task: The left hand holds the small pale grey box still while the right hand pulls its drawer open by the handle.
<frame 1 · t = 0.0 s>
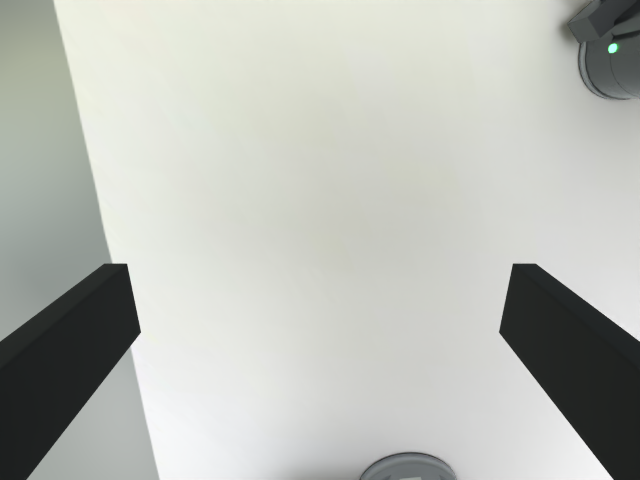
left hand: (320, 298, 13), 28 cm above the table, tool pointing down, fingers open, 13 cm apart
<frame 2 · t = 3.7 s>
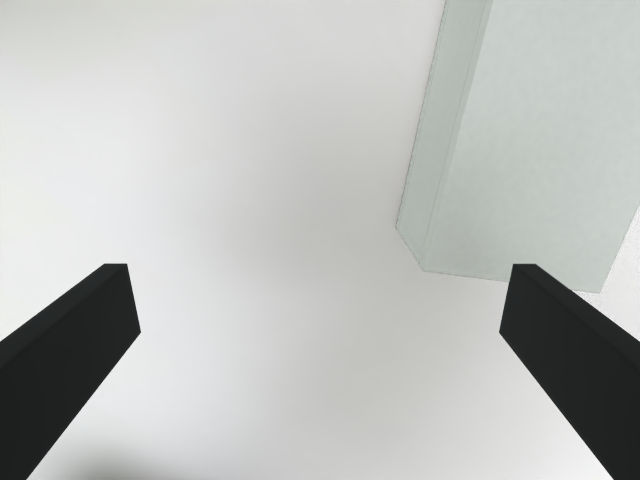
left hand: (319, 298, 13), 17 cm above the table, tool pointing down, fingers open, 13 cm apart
pale grey box: (500, 105, 26), on the table
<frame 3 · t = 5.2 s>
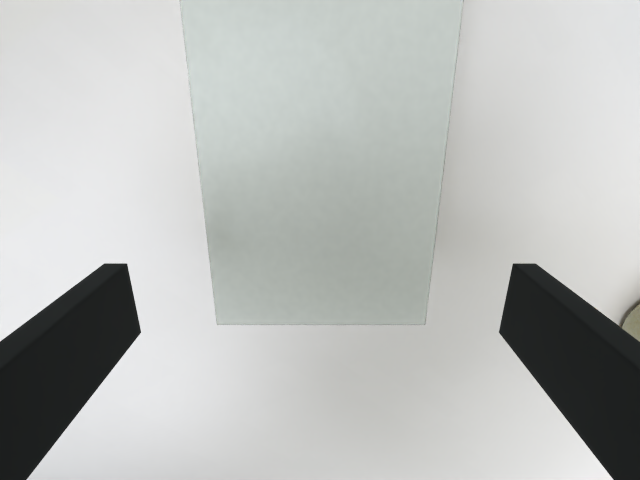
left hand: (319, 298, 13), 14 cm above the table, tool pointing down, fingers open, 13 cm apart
pale grey box: (320, 117, 24), on the table
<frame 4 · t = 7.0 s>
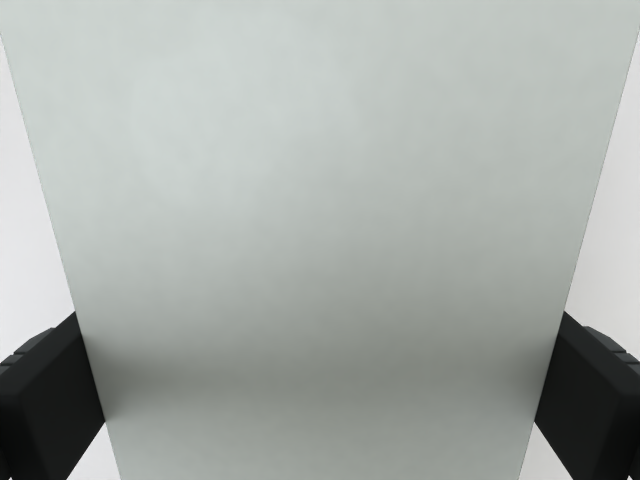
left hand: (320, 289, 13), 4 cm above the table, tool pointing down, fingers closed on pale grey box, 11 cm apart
pale grey box: (319, 125, 15), on the table, touching left hand
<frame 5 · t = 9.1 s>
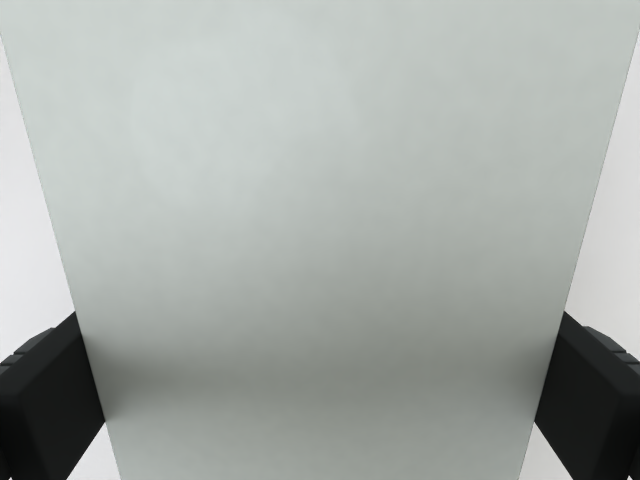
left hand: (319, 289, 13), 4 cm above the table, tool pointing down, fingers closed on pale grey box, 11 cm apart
pale grey box: (319, 125, 15), on the table, touching left hand
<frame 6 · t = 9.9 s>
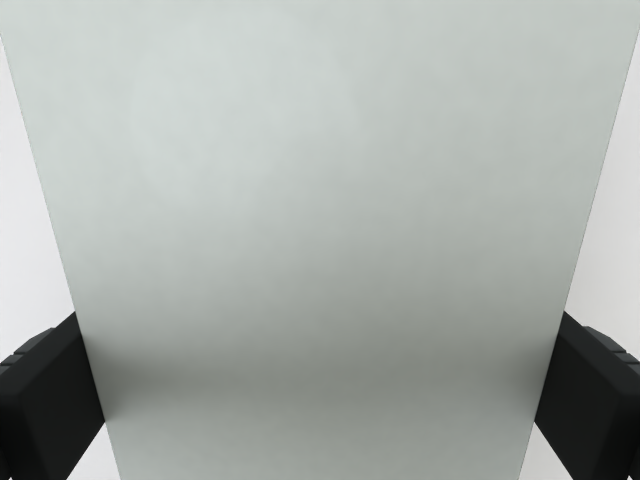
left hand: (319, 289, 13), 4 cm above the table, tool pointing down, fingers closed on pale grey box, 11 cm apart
pale grey box: (319, 125, 15), on the table, touching left hand
when the left hand's fingers open (4 cm above the table, at t = 11.5 s): pale grey box stays where it is, on the table.
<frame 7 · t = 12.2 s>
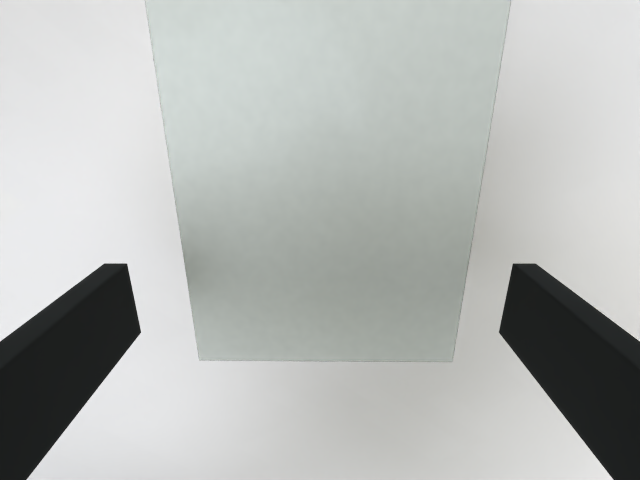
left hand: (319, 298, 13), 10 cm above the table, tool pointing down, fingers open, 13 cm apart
pale grey box: (325, 108, 20), on the table
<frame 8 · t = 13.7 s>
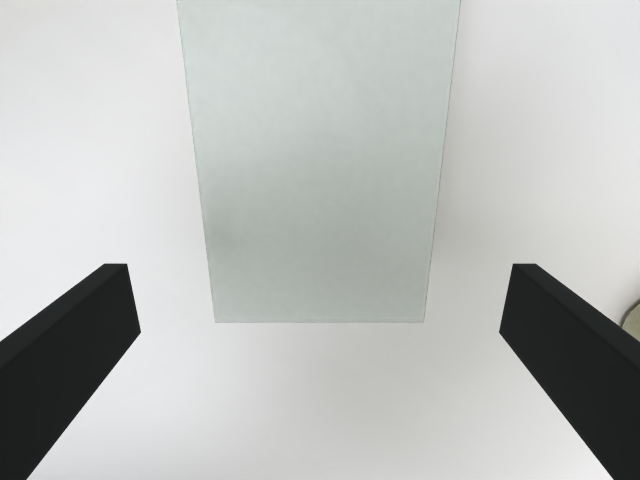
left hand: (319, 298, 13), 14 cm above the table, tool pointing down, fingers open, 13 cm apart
pale grey box: (319, 114, 24), on the table
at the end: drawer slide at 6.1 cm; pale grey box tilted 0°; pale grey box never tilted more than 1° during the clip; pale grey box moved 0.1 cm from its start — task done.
